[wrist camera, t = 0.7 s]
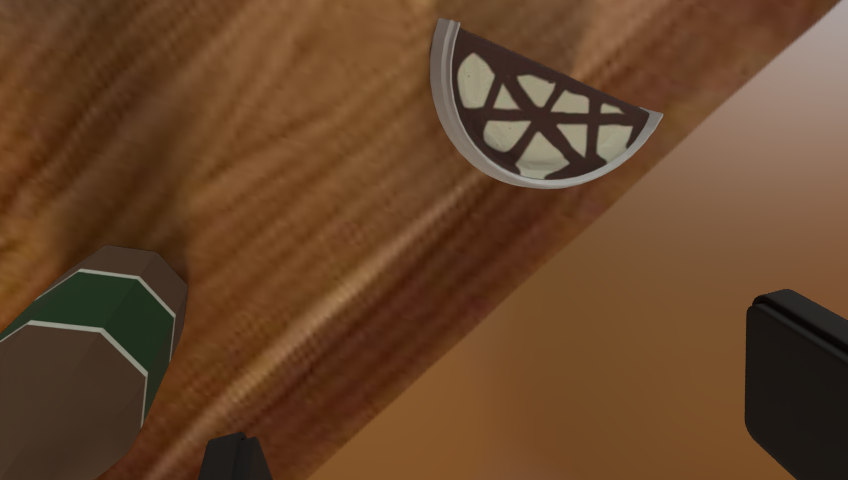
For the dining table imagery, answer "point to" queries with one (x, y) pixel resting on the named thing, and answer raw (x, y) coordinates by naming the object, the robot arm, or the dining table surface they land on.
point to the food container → (528, 114)
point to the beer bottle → (87, 365)
